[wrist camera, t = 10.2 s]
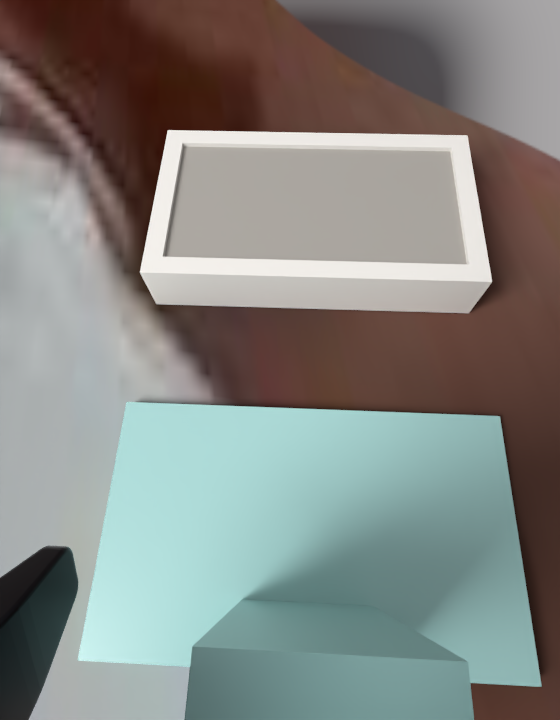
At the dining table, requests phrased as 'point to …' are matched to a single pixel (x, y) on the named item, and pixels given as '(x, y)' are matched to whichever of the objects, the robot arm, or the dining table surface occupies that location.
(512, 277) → the dining table surface
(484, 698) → the dining table surface
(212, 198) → the tub
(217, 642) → the lid
